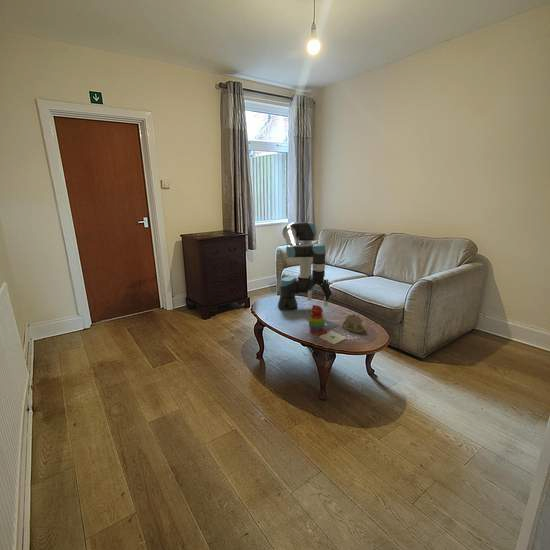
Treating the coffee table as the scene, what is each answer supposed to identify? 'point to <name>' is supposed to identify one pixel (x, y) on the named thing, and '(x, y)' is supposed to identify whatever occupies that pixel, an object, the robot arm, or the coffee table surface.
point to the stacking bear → (317, 321)
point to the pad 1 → (329, 325)
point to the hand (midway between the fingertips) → (317, 302)
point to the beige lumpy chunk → (353, 323)
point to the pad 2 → (332, 337)
